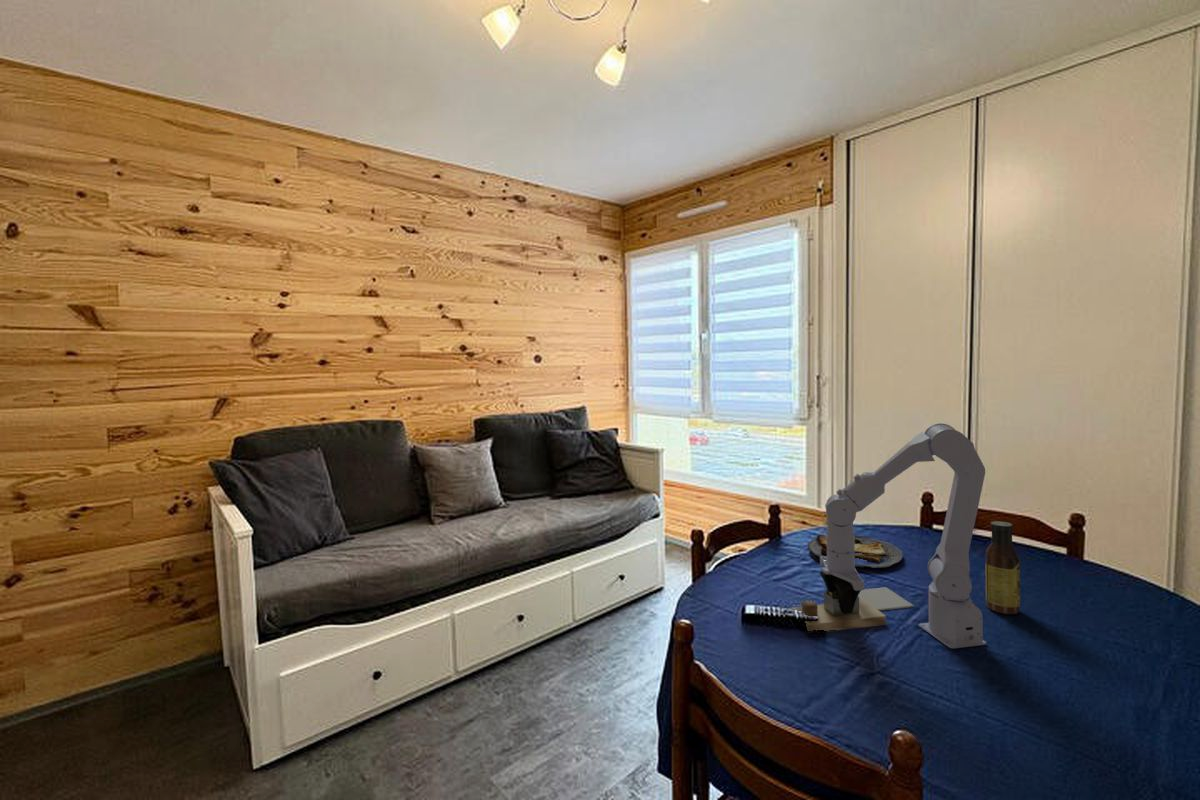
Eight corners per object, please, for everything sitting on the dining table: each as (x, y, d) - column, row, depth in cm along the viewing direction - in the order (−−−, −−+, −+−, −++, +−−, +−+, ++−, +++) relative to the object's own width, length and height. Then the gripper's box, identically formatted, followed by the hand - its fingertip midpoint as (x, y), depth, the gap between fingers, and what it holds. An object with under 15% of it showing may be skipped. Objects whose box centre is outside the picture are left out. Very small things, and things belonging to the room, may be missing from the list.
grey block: (848, 605, 123) (848, 586, 123) (859, 614, 119) (859, 594, 119) (824, 608, 122) (823, 589, 122) (833, 616, 118) (833, 596, 118)
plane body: (864, 607, 126) (863, 589, 125) (886, 624, 118) (885, 605, 117) (791, 615, 124) (790, 597, 123) (808, 633, 116) (807, 613, 115)
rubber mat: (913, 606, 125) (913, 605, 125) (873, 611, 124) (873, 609, 124) (885, 588, 135) (885, 587, 135) (848, 592, 134) (848, 591, 134)
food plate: (803, 563, 153) (803, 551, 152) (812, 537, 173) (812, 527, 173) (903, 579, 141) (904, 566, 141) (900, 549, 162) (901, 538, 161)
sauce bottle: (1025, 616, 118) (1027, 528, 116) (994, 615, 119) (995, 528, 118) (1009, 602, 125) (1010, 519, 123) (979, 601, 126) (980, 519, 124)
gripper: (807, 539, 126) (808, 595, 127) (841, 563, 112) (842, 625, 113) (835, 537, 127) (836, 592, 128) (873, 560, 113) (874, 622, 114)
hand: (841, 607), depth 121 cm, fingers closed on grey block, 4 cm apart
